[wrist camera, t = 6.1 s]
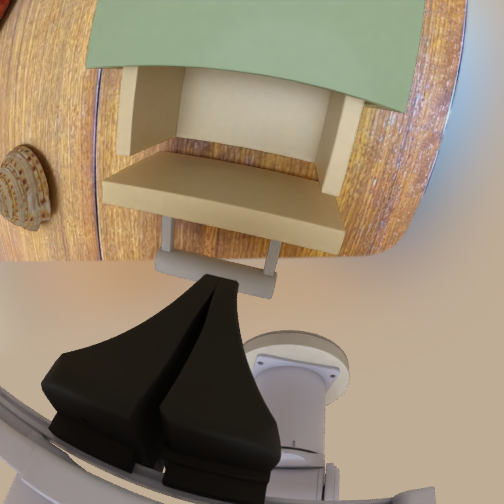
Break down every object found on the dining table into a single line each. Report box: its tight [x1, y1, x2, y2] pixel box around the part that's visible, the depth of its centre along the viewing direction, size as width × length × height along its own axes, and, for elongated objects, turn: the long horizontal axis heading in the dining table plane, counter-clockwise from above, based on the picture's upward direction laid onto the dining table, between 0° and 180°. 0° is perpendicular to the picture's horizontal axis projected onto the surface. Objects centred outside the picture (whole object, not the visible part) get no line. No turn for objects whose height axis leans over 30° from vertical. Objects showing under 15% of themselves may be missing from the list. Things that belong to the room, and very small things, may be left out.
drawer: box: [102, 66, 365, 299], centre depth 14 cm, size 18×11×7 cm, turn 170°
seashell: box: [0, 145, 51, 231], centre depth 21 cm, size 8×6×8 cm
